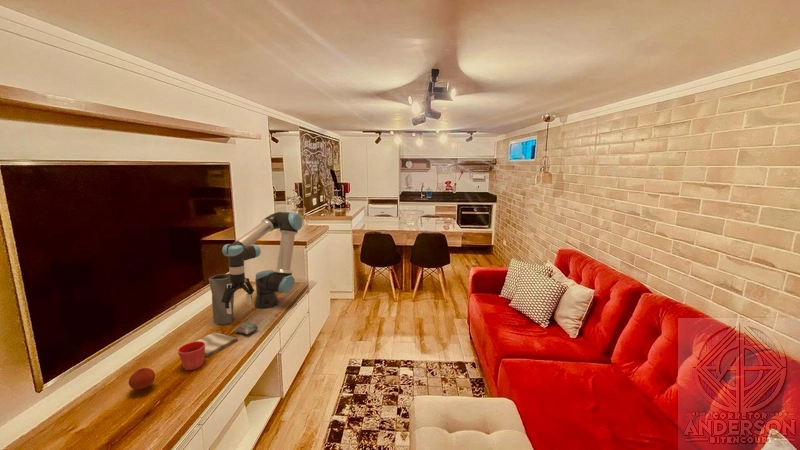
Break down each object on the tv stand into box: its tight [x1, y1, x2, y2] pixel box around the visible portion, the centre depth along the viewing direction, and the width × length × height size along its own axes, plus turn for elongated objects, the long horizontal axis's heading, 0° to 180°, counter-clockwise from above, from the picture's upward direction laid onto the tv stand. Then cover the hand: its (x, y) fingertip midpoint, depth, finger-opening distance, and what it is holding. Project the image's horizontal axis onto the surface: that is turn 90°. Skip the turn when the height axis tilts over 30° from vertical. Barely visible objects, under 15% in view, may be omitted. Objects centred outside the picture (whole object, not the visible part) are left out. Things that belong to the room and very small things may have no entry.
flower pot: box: [177, 340, 205, 371], centre depth 153 cm, size 11×11×10 cm
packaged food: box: [232, 321, 260, 335], centre depth 185 cm, size 9×12×5 cm
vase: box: [208, 273, 235, 326], centre depth 195 cm, size 12×12×30 cm
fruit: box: [128, 367, 156, 390], centre depth 137 cm, size 9×9×8 cm
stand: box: [194, 331, 238, 358], centre depth 171 cm, size 18×18×2 cm
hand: (239, 309), depth 183 cm, fingers open, 13 cm apart
